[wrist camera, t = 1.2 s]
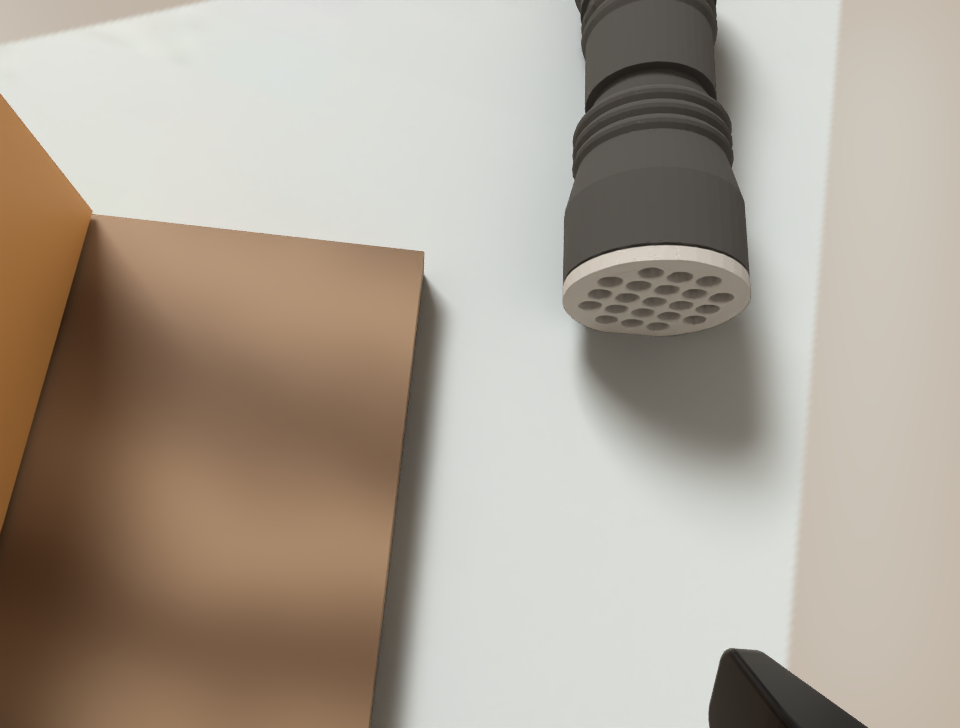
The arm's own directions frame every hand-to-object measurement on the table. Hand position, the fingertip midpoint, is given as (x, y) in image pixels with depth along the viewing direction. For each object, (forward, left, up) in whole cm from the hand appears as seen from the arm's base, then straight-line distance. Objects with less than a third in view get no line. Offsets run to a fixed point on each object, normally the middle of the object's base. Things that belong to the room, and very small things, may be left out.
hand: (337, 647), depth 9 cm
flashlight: (+17, -7, -14) cm, 23 cm away
